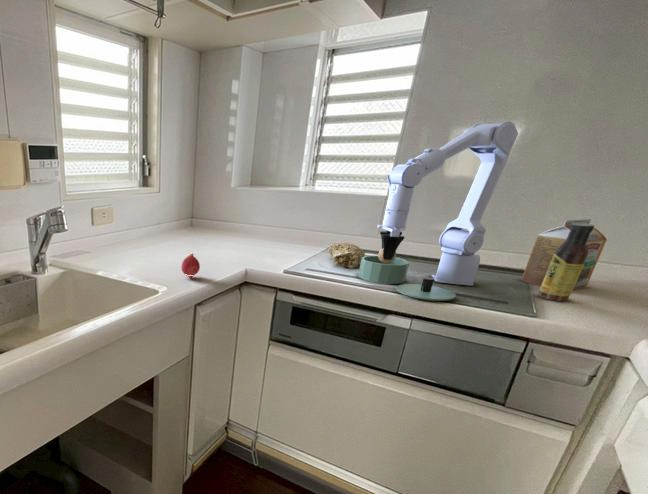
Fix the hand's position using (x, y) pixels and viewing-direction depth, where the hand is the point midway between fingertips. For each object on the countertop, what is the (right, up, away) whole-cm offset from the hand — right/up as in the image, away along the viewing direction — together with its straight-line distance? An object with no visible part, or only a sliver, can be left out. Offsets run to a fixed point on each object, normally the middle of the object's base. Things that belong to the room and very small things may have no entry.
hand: (386, 257), depth 118 cm
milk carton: (+53, -8, +3) cm, 53 cm away
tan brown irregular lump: (+2, +3, +30) cm, 30 cm away
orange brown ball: (0, -1, 0) cm, 1 cm away
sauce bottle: (+40, -13, -9) cm, 43 cm away
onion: (-57, -5, +11) cm, 58 cm away
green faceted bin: (+4, -5, +10) cm, 12 cm away
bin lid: (+7, -11, -6) cm, 14 cm away
